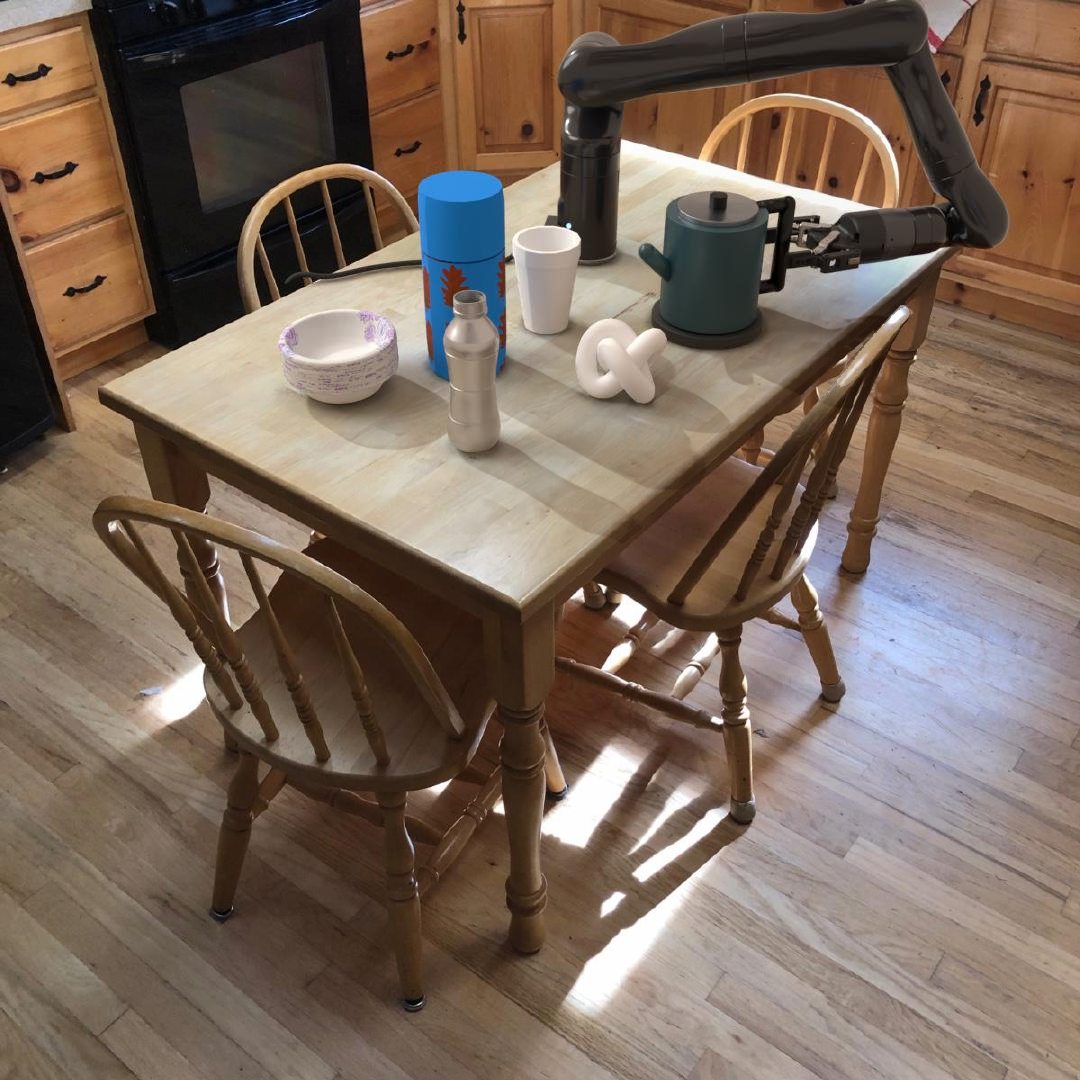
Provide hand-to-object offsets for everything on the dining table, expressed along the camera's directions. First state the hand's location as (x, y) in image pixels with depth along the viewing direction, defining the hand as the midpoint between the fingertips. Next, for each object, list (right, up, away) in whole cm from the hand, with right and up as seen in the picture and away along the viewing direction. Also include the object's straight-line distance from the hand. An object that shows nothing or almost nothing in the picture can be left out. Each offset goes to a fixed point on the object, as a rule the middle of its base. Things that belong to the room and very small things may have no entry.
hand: (772, 248), depth 168 cm
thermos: (-43, -17, -5) cm, 47 cm away
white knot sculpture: (-22, -22, -12) cm, 33 cm away
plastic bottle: (-41, -30, -21) cm, 55 cm away
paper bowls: (-59, -21, -10) cm, 64 cm away
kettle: (-8, -8, +3) cm, 12 cm away
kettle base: (-9, -10, +4) cm, 14 cm away
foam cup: (-32, -10, +4) cm, 34 cm away
